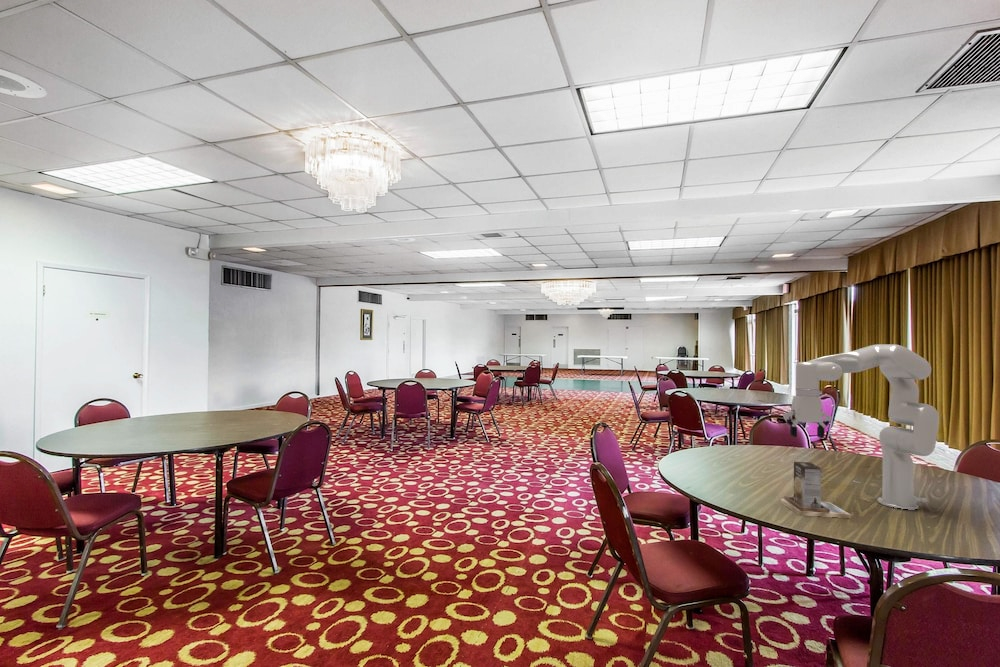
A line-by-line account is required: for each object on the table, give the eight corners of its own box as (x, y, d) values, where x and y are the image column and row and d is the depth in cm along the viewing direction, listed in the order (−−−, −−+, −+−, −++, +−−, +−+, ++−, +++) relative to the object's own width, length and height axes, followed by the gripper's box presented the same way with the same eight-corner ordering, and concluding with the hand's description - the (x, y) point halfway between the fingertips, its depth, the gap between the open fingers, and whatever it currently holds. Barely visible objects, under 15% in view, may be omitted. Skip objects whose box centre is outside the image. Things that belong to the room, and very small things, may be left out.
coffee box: (792, 501, 183) (792, 461, 183) (810, 502, 182) (810, 462, 182) (803, 509, 174) (803, 467, 174) (822, 510, 172) (822, 468, 173)
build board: (828, 505, 183) (828, 498, 183) (851, 518, 169) (851, 511, 169) (781, 502, 185) (781, 495, 185) (798, 515, 171) (798, 508, 171)
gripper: (825, 393, 181) (825, 436, 181) (779, 391, 184) (779, 434, 183) (836, 395, 174) (836, 440, 174) (788, 393, 176) (788, 438, 176)
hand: (807, 437), depth 178 cm, fingers open, 9 cm apart
